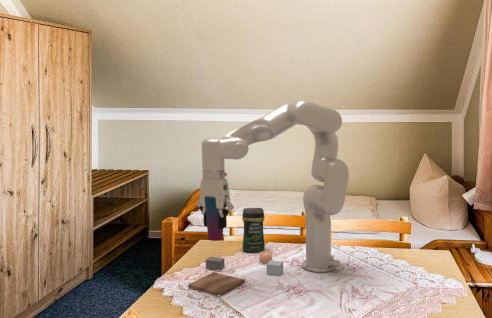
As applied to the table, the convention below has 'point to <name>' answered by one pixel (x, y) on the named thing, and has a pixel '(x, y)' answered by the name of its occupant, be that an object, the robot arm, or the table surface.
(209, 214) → the cup
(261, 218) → the coffee jar
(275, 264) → the slate block
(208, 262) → the taupe block
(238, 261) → the table surface
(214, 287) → the walnut board
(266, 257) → the terracotta ball
